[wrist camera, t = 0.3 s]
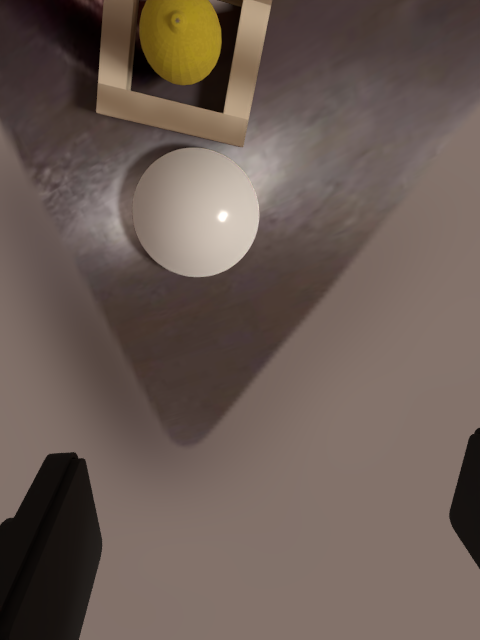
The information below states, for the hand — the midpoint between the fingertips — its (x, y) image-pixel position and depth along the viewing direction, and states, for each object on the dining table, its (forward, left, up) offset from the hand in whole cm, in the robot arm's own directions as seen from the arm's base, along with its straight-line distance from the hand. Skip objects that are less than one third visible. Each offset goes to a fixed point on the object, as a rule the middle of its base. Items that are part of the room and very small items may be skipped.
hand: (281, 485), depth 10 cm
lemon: (-14, -6, -30) cm, 33 cm away
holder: (-14, -6, -30) cm, 33 cm away
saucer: (-2, -3, -30) cm, 30 cm away
